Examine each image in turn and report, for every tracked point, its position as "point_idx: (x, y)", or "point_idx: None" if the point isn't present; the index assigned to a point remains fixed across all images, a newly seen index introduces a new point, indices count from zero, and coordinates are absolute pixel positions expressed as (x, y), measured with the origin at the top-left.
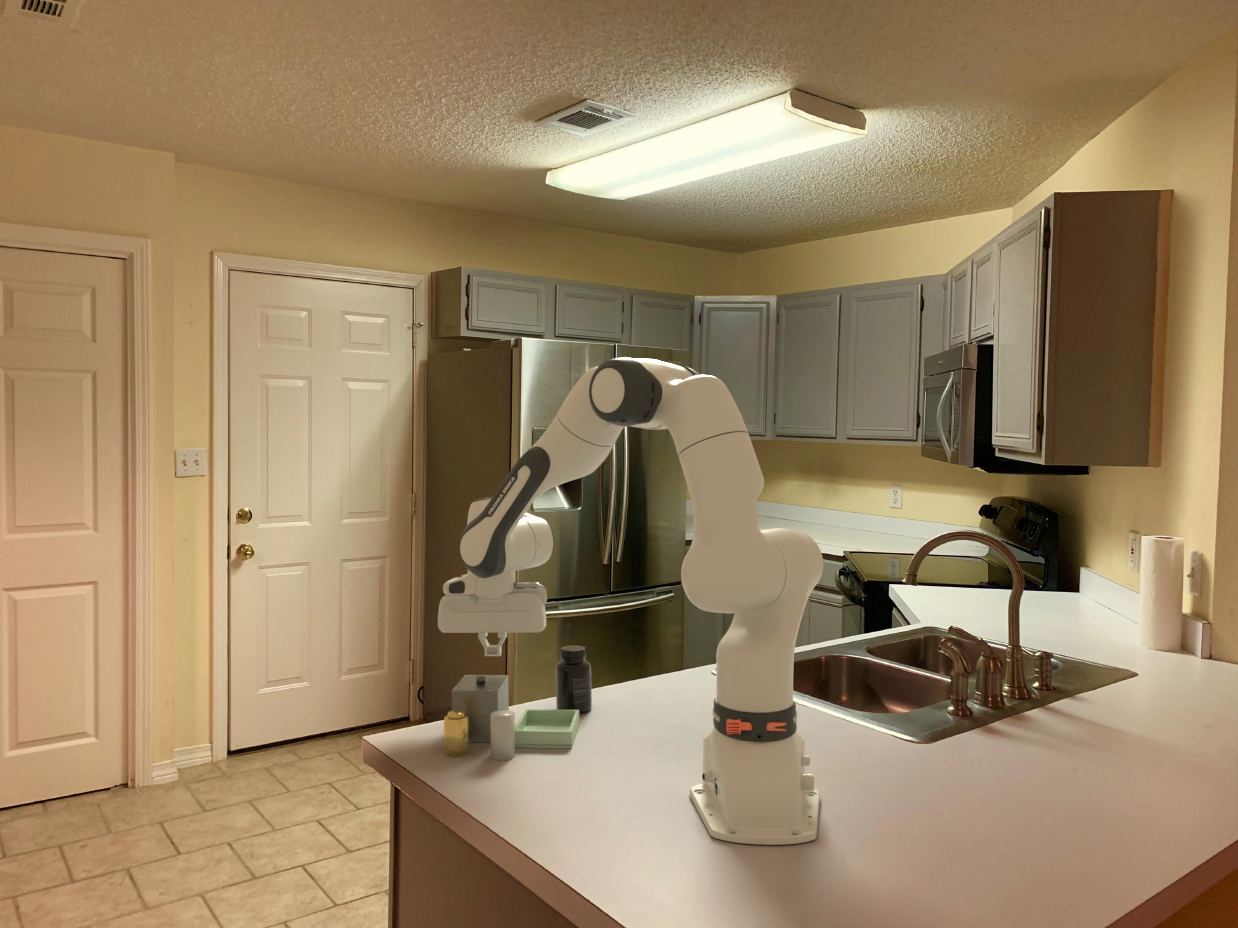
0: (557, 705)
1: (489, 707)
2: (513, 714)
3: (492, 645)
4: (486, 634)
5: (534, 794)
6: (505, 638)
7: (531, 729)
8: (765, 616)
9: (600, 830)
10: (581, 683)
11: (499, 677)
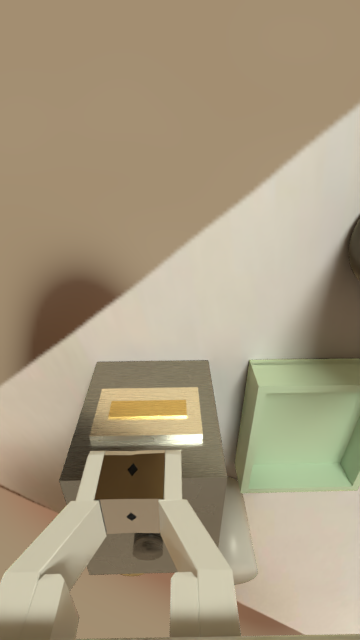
0: (355, 268)
1: None
2: (255, 573)
3: (123, 506)
4: (68, 621)
5: (273, 560)
6: (218, 554)
7: (269, 411)
8: None
9: (335, 595)
10: None
11: (198, 495)
